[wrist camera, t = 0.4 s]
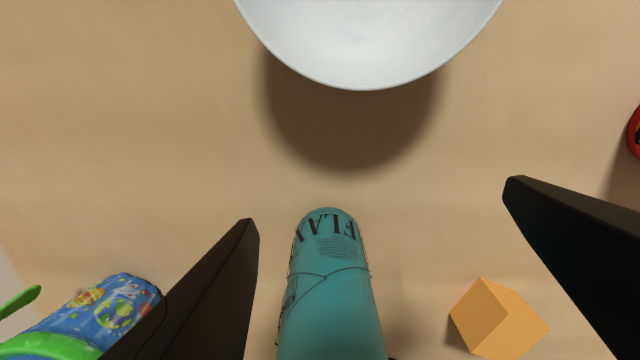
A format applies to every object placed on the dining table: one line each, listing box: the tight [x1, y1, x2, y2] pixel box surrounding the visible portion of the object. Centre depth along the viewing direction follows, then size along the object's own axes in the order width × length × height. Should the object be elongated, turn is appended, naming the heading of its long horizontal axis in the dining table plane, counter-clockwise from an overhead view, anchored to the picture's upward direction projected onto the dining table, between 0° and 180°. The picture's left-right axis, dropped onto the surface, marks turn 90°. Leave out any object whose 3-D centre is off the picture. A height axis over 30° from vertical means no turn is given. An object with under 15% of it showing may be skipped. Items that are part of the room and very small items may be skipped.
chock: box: [449, 277, 550, 360], centre depth 28 cm, size 6×5×5 cm
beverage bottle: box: [275, 207, 389, 360], centre depth 17 cm, size 6×7×20 cm
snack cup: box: [0, 273, 161, 360], centre depth 26 cm, size 16×10×10 cm
